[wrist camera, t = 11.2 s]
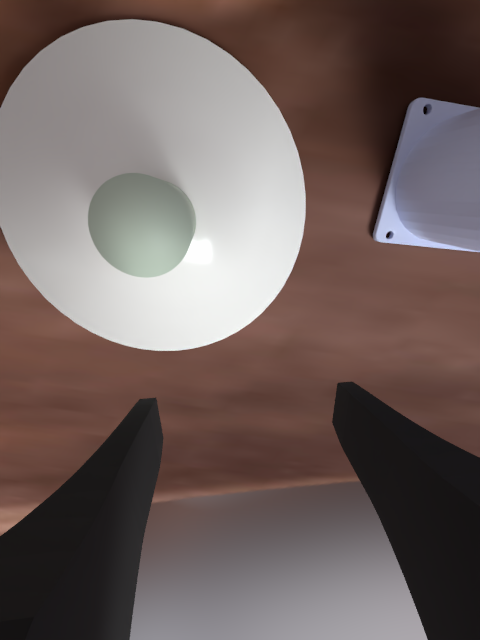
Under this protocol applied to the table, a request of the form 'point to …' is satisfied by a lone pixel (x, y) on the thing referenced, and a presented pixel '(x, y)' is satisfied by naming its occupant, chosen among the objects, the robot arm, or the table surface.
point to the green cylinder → (141, 224)
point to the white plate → (157, 161)
